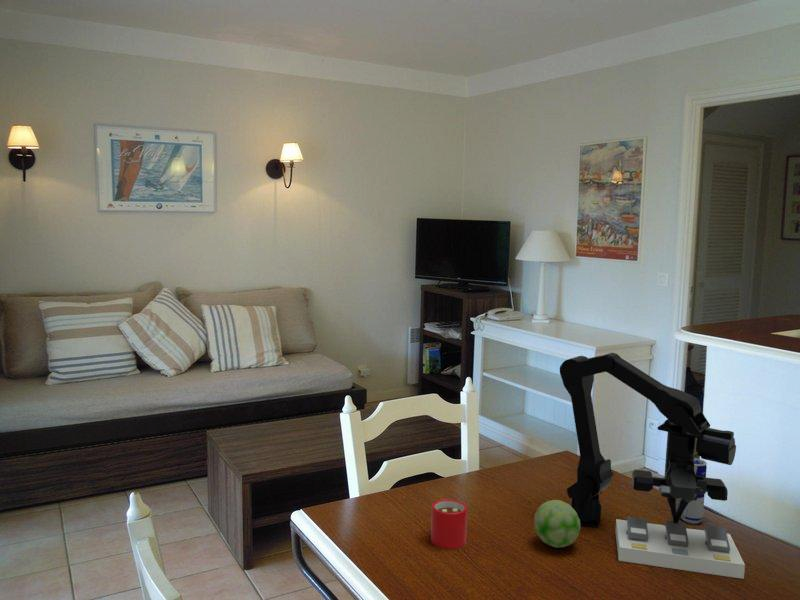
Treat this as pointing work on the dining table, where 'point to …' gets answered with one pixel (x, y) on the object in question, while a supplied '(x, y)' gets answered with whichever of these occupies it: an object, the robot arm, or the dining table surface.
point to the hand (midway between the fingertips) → (675, 522)
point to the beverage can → (695, 508)
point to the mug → (449, 523)
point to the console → (678, 552)
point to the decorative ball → (557, 523)
